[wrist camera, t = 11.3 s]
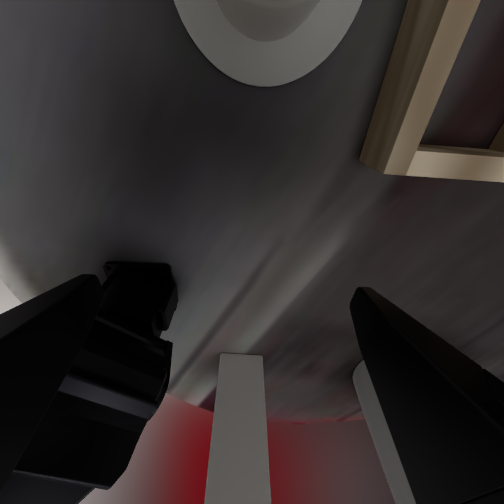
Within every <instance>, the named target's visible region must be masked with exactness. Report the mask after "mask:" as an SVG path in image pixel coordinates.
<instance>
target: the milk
mask: <svg viewBox="0 0 504 504" xmlns="http://www.w3.org/2000/svg"><path fill="white" fill-rule="evenodd" d="M204 504H271V493H270V475H269V458H268V442H267V424H266V407H265V390H264V374H263V357H262V355H246V354H230V353H221V354H220V361H219V371H218V380H217V390H216V399H215V408H214V419H213V427H212V436H211V446H210V455H209V465H208V474H207V483H206V492H205V503H204Z"/></svg>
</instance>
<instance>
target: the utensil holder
mask: <svg viewBox="0 0 504 504" xmlns="http://www.w3.org/2000/svg"><path fill="white" fill-rule="evenodd" d="M353 383H354V386H355V390H356V393H357V396H358V399H359V402H360V405H361V408H362V411H363V414H364V416H365V419H366V422H367V425H368V428H369V431H370V433H371V436H372V439H373V442H374V445H375V448H376V450H377V453H378V456H379V459H380V462H381V464H382V467H383V470H384V473H385V476H386V479H387V481H388V484H389V487H390V489H391V492H392V495H393V498H394V501H395V503H396V504H416V502H415V500H414V497H413V494H412V491H411V489H410V486H409V483H408V480H407V478H406V475H405V472H404V469H403V467H402V464H401V461H400V458H399V456H398V453H397V450H396V447H395V445H394V442H393V439H392V436H391V434H390V431H389V428H388V425H387V423H386V420H385V417H384V414H383V412H382V409H381V406H380V403H379V401H378V398H377V395H376V392H375V390H374V387H373V384H372V381H371V379H370V376H369V373H368V370H367V368H366V365H365V362H364V360H362V361H361V362H360V363H359V364H358V365H357V367H356V368H355V370H354V372H353Z"/></svg>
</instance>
